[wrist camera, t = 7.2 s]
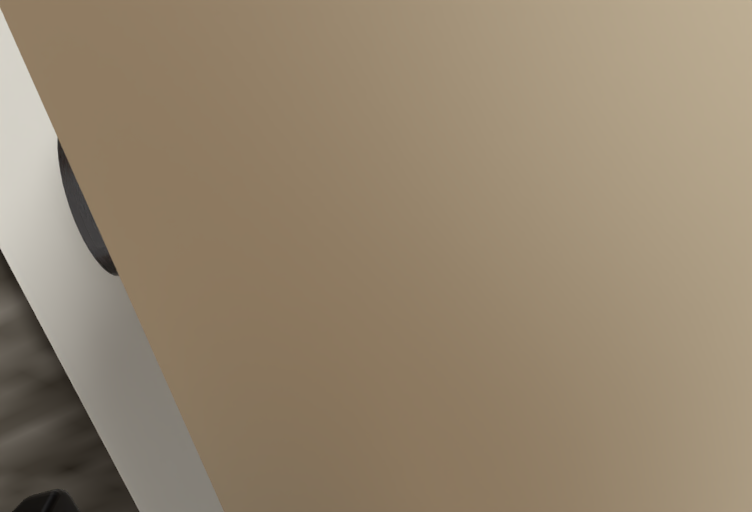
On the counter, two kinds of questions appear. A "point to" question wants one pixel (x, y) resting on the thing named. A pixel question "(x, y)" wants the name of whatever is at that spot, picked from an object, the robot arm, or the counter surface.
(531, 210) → the door panel
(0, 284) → the counter surface
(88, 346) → the hinge base
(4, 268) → the counter surface
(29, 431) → the counter surface
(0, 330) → the counter surface
